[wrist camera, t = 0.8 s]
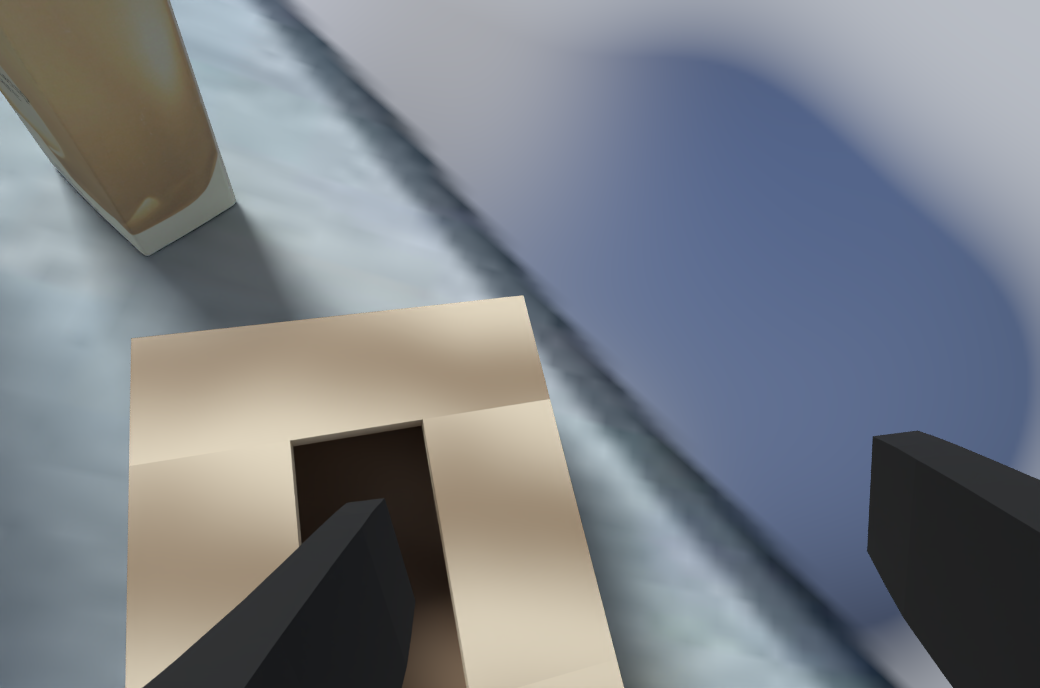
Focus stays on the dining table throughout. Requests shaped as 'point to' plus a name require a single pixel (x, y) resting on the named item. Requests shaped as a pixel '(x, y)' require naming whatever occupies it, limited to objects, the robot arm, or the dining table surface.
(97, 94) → the skincare box
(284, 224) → the dining table surface
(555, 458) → the box
